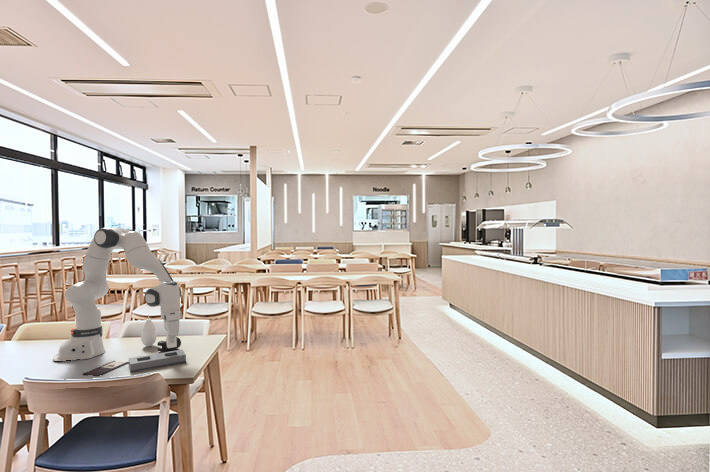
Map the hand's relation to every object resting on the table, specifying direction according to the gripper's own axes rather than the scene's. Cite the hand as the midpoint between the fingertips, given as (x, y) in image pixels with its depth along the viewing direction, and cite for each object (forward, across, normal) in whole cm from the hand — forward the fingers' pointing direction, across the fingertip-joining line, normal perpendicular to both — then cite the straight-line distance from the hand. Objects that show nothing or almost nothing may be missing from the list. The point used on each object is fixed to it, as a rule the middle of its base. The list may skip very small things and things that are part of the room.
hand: (171, 341), depth 196 cm
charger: (+3, 0, 0) cm, 3 cm away
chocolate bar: (+11, -8, -27) cm, 30 cm away
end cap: (+11, -19, +2) cm, 22 cm away
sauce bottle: (+10, -36, -6) cm, 38 cm away
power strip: (+10, 0, -6) cm, 12 cm away
